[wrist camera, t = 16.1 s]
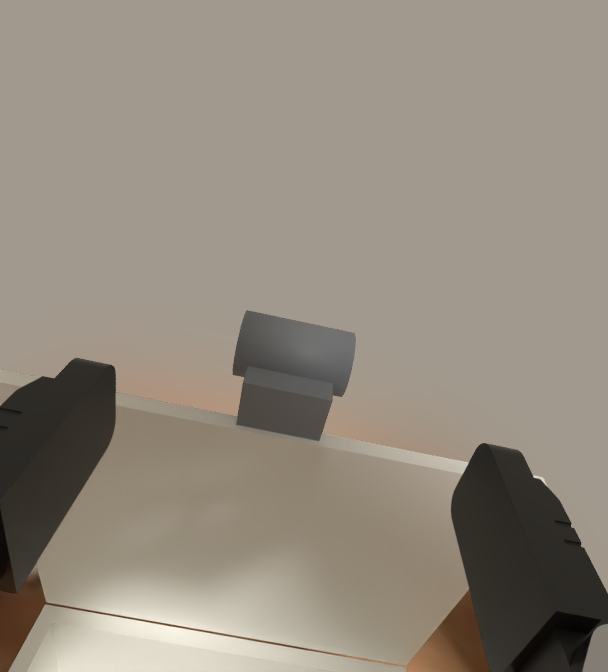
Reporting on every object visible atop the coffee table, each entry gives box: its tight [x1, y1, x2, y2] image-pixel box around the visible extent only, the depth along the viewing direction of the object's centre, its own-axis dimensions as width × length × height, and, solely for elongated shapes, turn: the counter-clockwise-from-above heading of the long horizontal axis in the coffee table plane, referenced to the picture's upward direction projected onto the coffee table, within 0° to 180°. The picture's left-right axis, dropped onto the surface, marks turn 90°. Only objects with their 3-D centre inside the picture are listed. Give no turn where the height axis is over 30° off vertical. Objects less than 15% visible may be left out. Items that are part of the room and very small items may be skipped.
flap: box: [0, 310, 547, 666], centre depth 21 cm, size 20×19×4 cm
